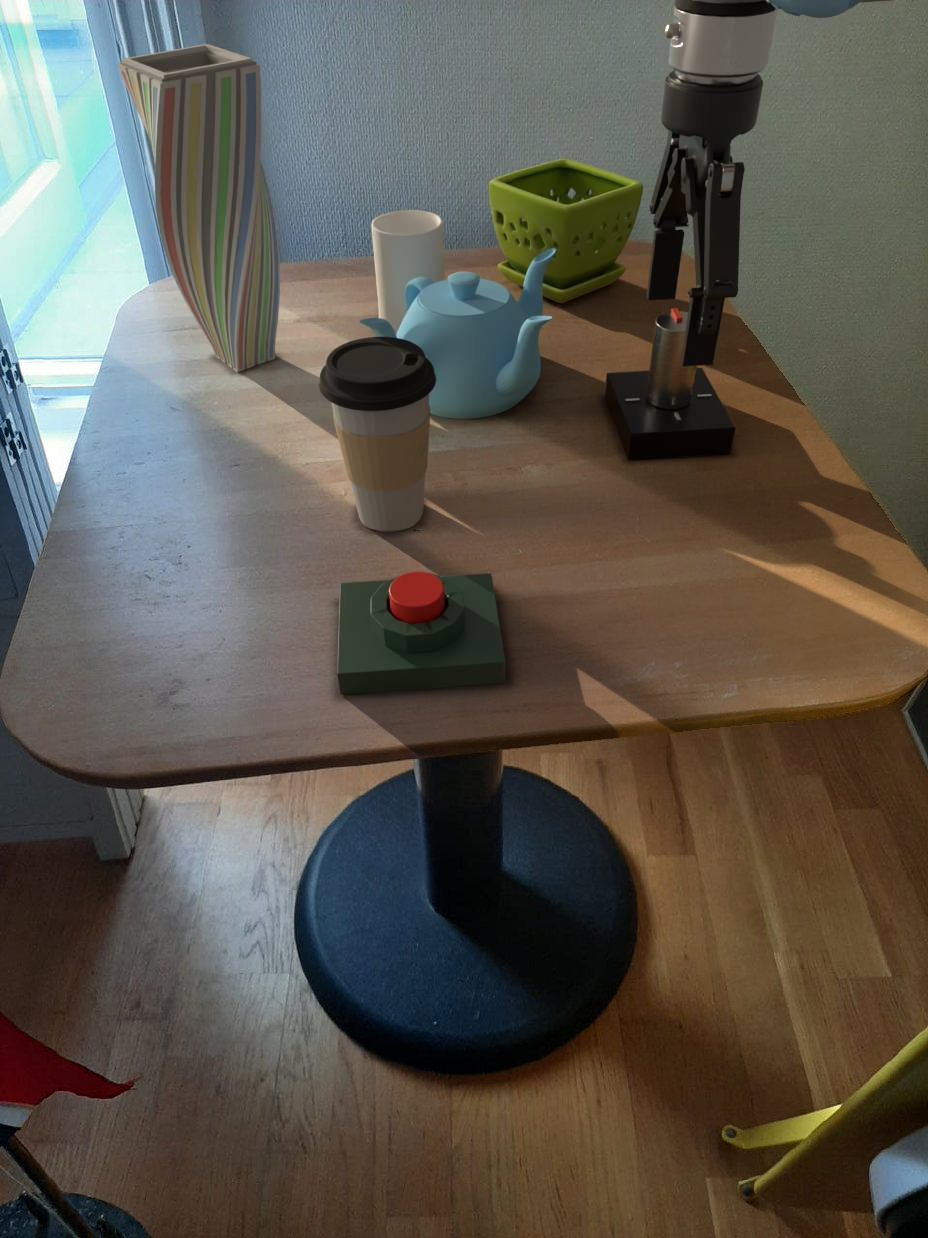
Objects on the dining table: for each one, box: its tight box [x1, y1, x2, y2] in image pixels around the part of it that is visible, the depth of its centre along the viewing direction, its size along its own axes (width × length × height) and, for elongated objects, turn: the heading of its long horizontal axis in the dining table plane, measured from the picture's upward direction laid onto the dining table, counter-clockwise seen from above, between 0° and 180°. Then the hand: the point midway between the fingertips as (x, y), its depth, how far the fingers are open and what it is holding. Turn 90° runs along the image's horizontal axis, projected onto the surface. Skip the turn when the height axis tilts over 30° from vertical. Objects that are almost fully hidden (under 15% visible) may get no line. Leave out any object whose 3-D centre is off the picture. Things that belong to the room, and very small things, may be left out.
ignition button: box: [389, 571, 445, 624], centre depth 68 cm, size 4×4×2 cm
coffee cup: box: [318, 336, 436, 533], centre depth 78 cm, size 9×9×15 cm
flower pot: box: [488, 158, 644, 304], centre depth 115 cm, size 14×14×13 cm
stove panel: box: [604, 367, 737, 461], centre depth 92 cm, size 12×10×3 cm
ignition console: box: [336, 572, 506, 696], centre depth 69 cm, size 10×12×4 cm
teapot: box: [359, 248, 556, 420], centre depth 95 cm, size 17×19×12 cm
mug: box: [371, 209, 446, 334], centre depth 109 cm, size 12×8×12 cm
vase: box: [116, 43, 281, 373], centre depth 96 cm, size 14×14×30 cm
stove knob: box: [646, 307, 698, 409], centre depth 88 cm, size 4×4×8 cm
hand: (677, 329), depth 86 cm, fingers open, 13 cm apart
